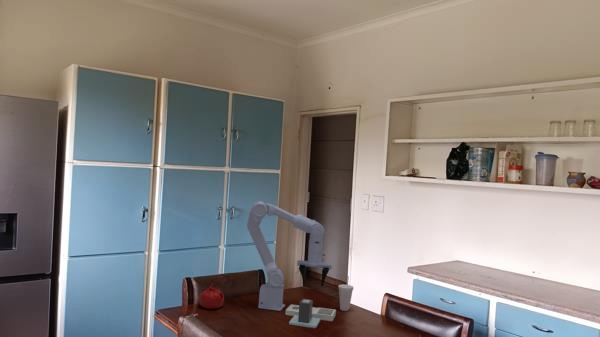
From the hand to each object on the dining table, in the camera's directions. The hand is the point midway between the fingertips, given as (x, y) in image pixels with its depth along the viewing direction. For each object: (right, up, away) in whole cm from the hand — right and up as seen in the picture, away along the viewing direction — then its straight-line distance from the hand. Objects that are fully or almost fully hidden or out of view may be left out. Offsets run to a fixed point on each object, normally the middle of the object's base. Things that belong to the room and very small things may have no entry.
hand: (313, 284), depth 181 cm
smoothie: (+13, -11, +2) cm, 17 cm away
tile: (-4, -9, -18) cm, 21 cm away
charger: (-4, -9, -18) cm, 20 cm away
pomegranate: (-41, -7, -6) cm, 42 cm away
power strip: (0, -10, -8) cm, 13 cm away
